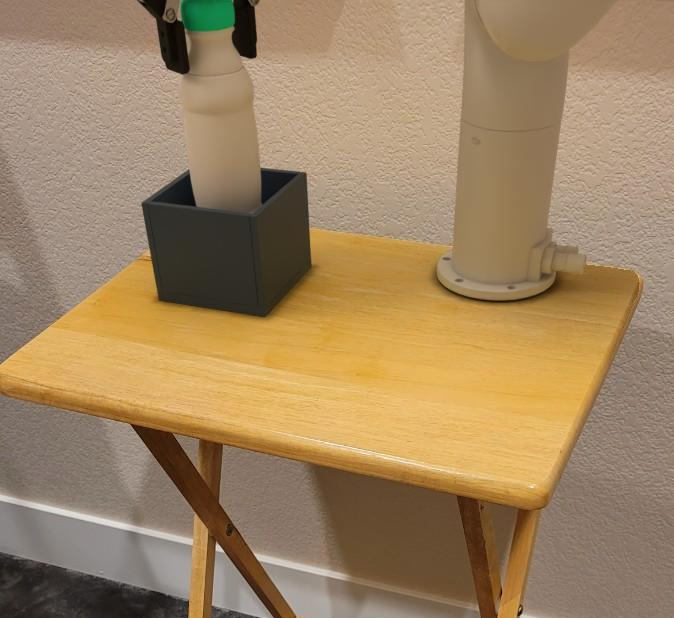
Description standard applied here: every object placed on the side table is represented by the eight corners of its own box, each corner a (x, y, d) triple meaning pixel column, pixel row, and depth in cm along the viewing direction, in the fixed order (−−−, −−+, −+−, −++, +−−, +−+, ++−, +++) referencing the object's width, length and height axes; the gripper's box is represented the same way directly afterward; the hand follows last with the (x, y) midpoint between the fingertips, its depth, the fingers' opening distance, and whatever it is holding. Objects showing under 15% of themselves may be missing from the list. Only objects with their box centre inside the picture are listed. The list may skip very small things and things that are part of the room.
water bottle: (259, 290, 91) (232, 5, 74) (195, 286, 93) (153, 4, 75) (276, 262, 96) (255, -12, 79) (215, 258, 98) (180, -13, 80)
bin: (311, 267, 98) (306, 172, 91) (265, 317, 89) (256, 216, 82) (212, 253, 101) (199, 161, 94) (158, 300, 93) (140, 202, 86)
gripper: (105, -192, 62) (150, 91, 75) (300, -206, 70) (311, 53, 82) (58, -194, 67) (108, 74, 79) (246, -207, 74) (265, 40, 87)
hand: (211, 61), depth 81 cm, fingers open, 6 cm apart
